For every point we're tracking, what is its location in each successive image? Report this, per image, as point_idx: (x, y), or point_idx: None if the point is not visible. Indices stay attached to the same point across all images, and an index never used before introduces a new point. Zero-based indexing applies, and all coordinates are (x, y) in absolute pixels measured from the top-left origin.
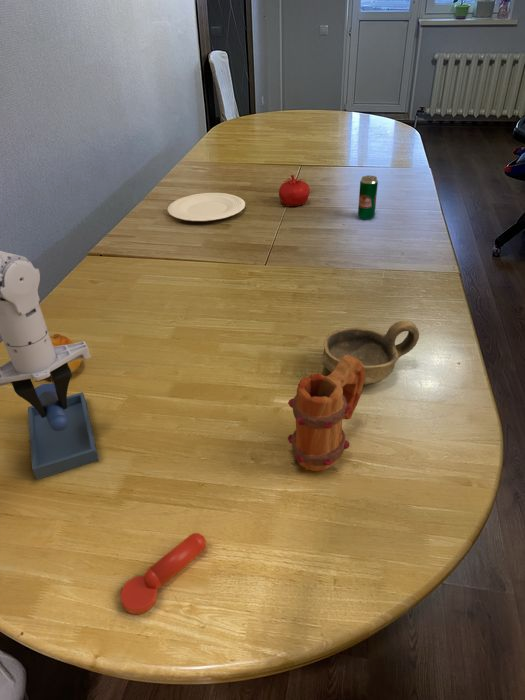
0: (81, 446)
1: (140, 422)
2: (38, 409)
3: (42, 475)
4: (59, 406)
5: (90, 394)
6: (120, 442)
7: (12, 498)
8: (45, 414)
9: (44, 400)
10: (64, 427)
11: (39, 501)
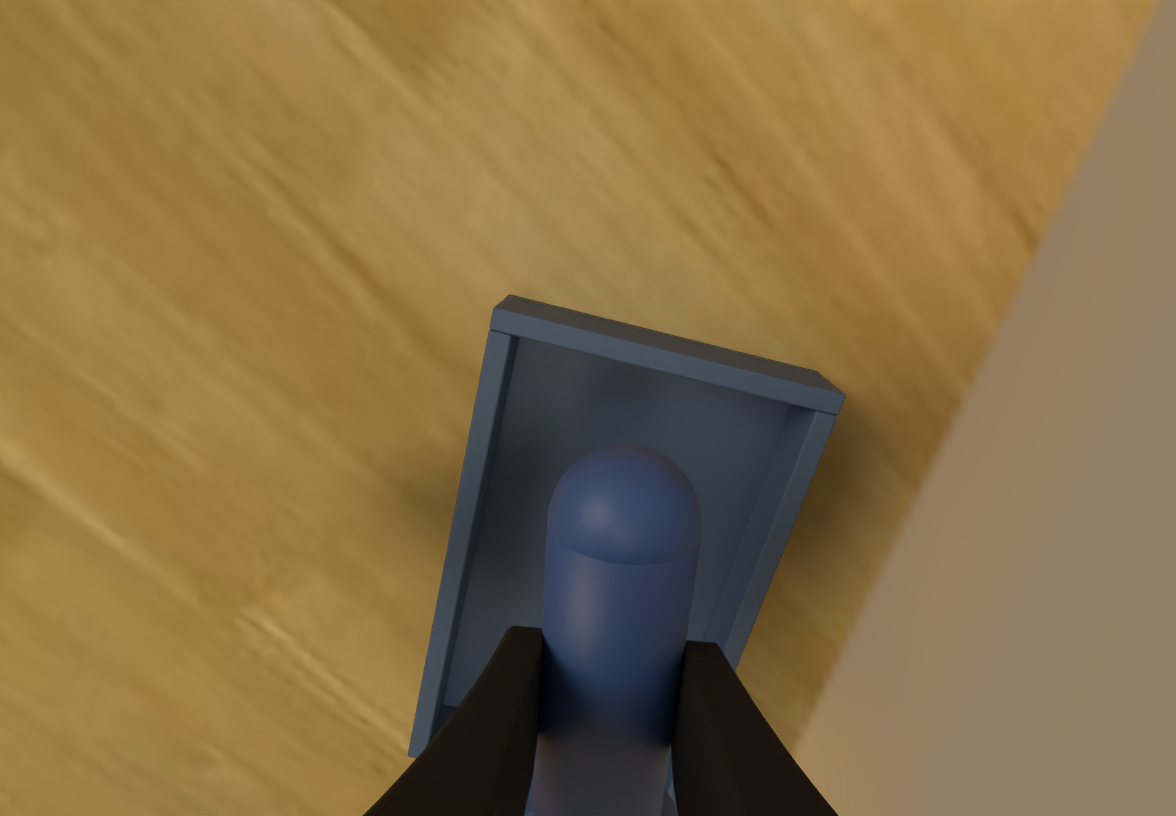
0: (549, 435)
1: (228, 415)
2: (750, 717)
3: (791, 368)
4: (558, 666)
5: (394, 732)
6: (366, 346)
7: (963, 330)
8: (690, 653)
9: (638, 795)
10: (607, 447)
11: (871, 217)
